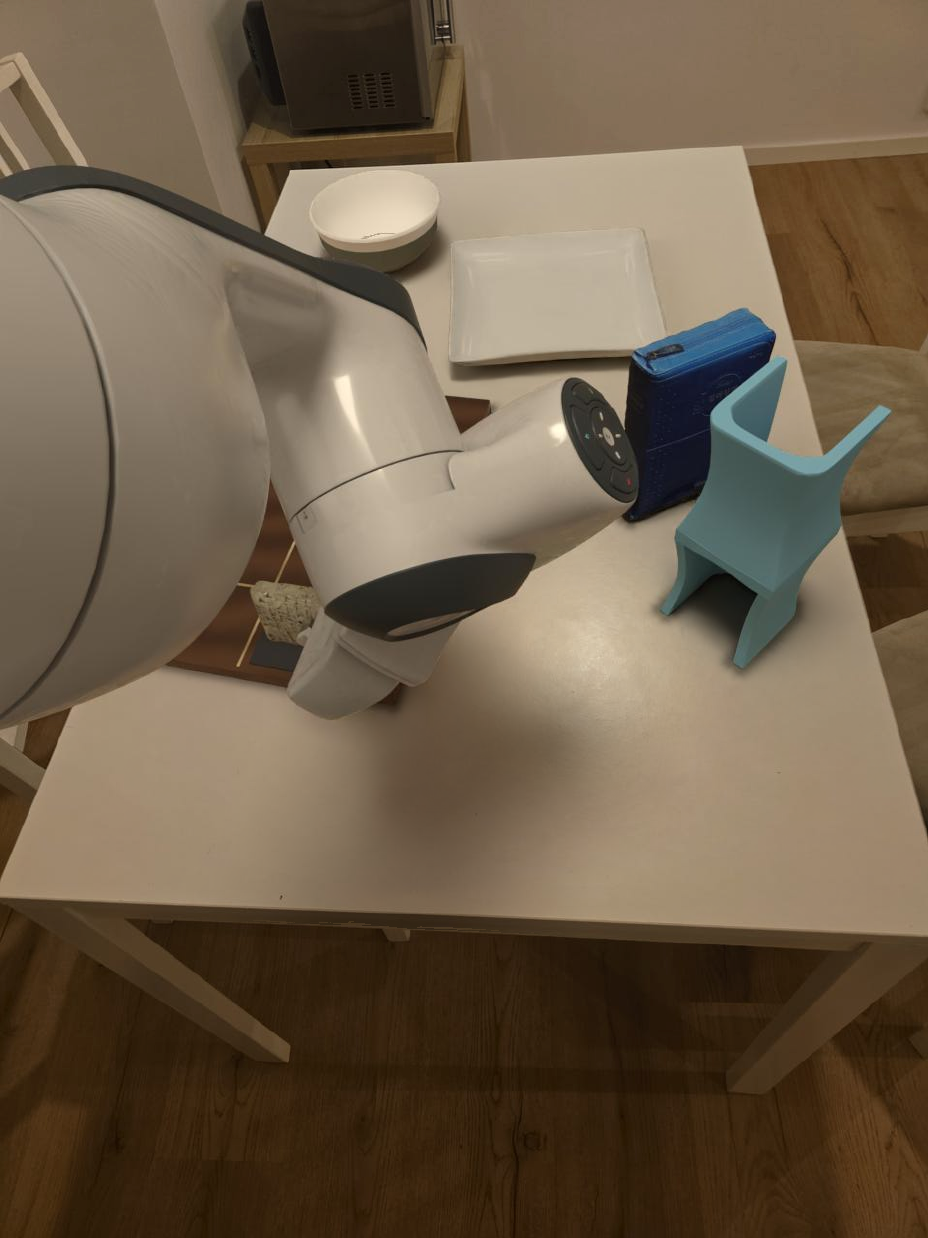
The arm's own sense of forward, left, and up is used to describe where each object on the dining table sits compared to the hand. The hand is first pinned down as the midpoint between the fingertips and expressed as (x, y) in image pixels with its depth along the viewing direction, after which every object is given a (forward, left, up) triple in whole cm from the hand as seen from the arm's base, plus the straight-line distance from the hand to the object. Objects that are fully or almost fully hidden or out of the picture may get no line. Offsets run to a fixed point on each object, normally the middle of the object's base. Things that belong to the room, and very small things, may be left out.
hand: (317, 611), depth 62 cm
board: (+23, +10, -18) cm, 31 cm away
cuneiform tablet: (0, -1, -5) cm, 5 cm away
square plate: (+64, -7, -18) cm, 67 cm away
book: (+34, -26, -18) cm, 46 cm away
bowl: (+74, +20, -18) cm, 79 cm away
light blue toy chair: (+19, -33, -18) cm, 42 cm away
